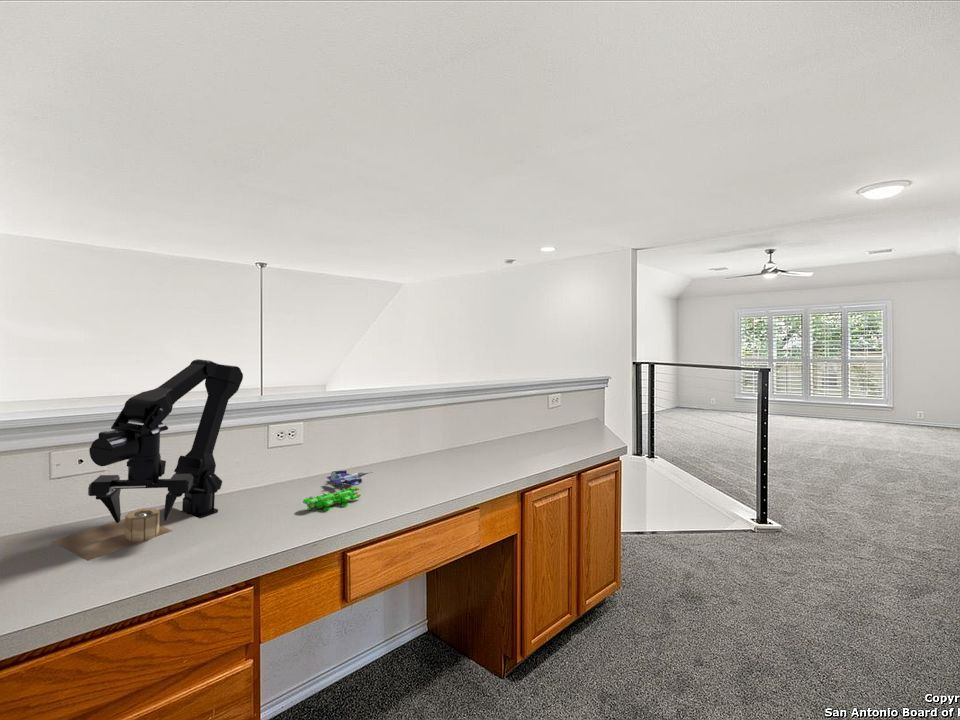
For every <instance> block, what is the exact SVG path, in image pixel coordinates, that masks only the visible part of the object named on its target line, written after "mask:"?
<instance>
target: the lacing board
mask: <svg viewBox="0 0 960 720" xmlns="http://www.w3.org/2000/svg"><path fill="white" fill-rule="evenodd" d="M170 532H173V530H172V529H170V528H167V527H165V526H163V525H161V524H159V533H158V534H157V536H155V537H154V538H156V537H159V536H163V535H165V534H168V533H170ZM145 541H146V540H143V541H129V540H127V539H125V518H124V519H120V522H119V523H116V522H115V521H114V522H111V523H107V524H104V525H101V526H97V527H93V528H90V529H87V530H84V531H81V532H78V533H77V532H76V533H74V534H71V535H68V536H65V537H62V538H58V539H55V540H52V542H53V543H55V544H57V545H58V546H60V547H62V548H64V549H65V550H67V551H69V552H71V553H73V554H74V555H76V556H79V557H80V558H82V559H84V560H86V561H91V560H94V559H97V558H99V557H103V556H105V555H108V554H110V553H113V552H116V551H119V550H120V551H121V550H122V549H123V550H124V549H125V548H129V547H130V546H134V545H136V544H139V543H142V542H145Z"/></svg>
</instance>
